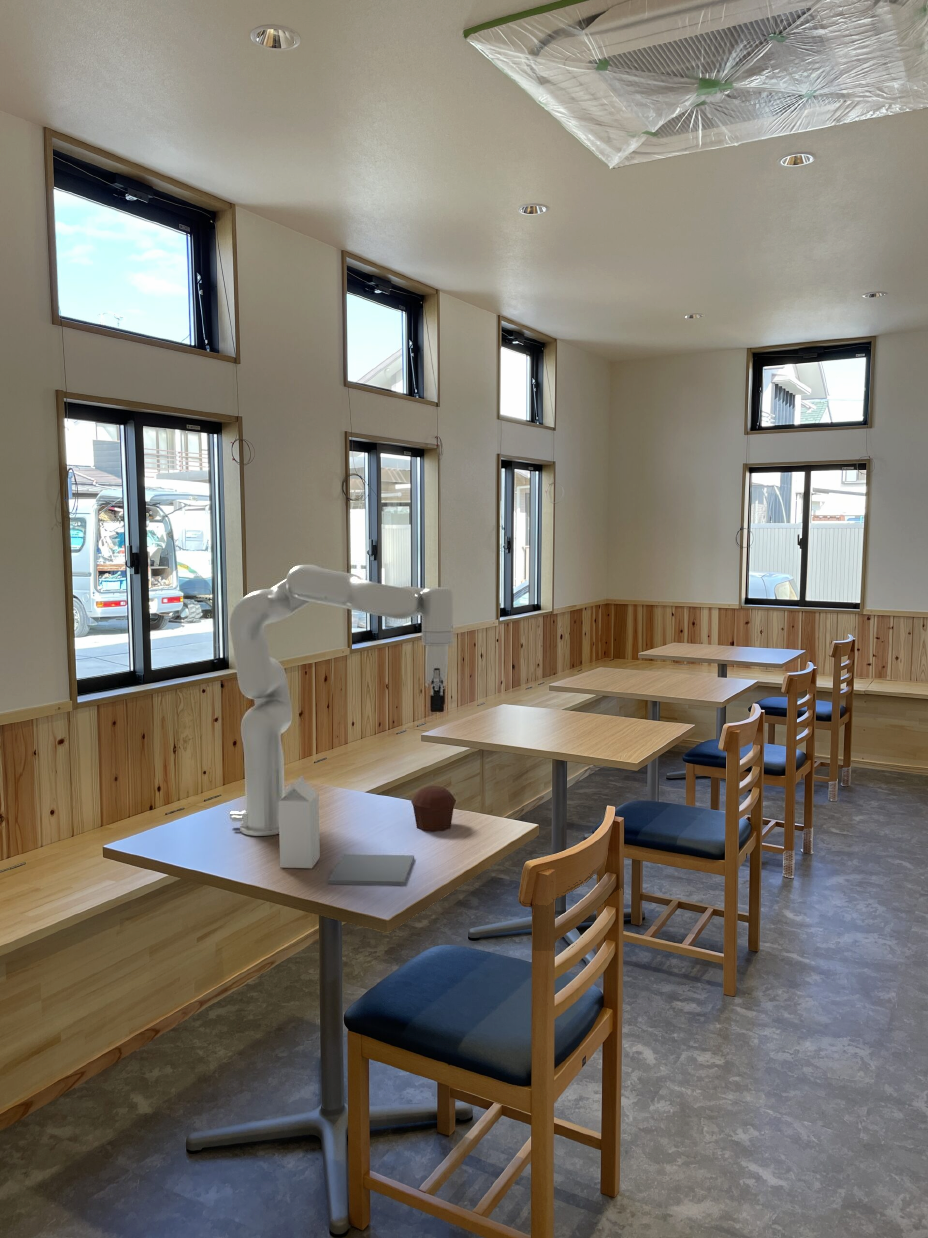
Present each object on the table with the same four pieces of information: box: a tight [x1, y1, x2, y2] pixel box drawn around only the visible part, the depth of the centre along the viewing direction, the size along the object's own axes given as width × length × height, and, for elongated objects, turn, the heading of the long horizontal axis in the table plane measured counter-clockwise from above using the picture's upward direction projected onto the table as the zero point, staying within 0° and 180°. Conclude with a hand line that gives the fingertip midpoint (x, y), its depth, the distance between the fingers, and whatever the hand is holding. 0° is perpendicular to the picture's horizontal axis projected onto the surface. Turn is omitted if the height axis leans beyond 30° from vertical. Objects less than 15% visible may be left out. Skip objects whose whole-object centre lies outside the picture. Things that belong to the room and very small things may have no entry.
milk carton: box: [278, 775, 321, 869], centre depth 197 cm, size 7×7×19 cm
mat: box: [327, 853, 415, 886], centre depth 192 cm, size 16×16×1 cm
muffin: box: [410, 785, 457, 833], centre depth 223 cm, size 12×11×10 cm
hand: (437, 708), depth 216 cm, fingers open, 9 cm apart
